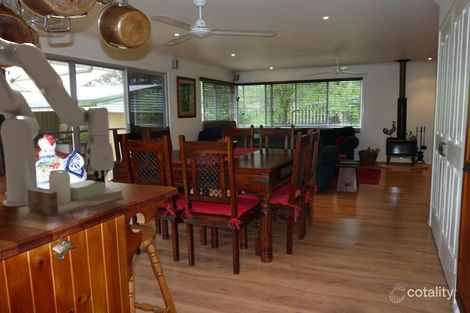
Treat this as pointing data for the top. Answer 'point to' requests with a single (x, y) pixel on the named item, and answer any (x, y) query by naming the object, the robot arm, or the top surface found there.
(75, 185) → the sliding block
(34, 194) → the channel
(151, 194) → the top surface
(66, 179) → the can
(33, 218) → the top surface
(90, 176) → the brown textured cylinder
